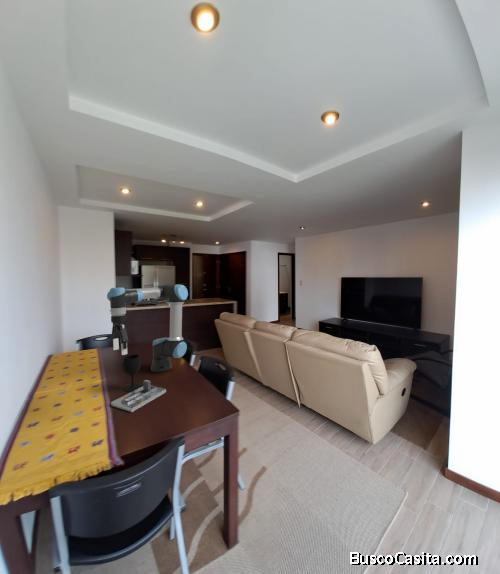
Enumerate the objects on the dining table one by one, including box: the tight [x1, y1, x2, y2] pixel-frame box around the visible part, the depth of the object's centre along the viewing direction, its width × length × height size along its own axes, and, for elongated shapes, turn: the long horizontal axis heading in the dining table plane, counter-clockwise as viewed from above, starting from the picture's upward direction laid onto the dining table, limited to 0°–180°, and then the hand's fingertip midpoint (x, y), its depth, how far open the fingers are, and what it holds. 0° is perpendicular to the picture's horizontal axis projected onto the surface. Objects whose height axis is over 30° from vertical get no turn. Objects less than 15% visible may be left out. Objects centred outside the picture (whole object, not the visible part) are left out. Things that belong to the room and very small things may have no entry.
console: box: [110, 384, 167, 413], centre depth 138 cm, size 24×16×3 cm, turn 155°
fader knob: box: [142, 379, 152, 392], centre depth 143 cm, size 2×4×6 cm, turn 65°
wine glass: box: [122, 354, 143, 393], centre depth 152 cm, size 10×10×20 cm
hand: (120, 352), depth 136 cm, fingers open, 13 cm apart
